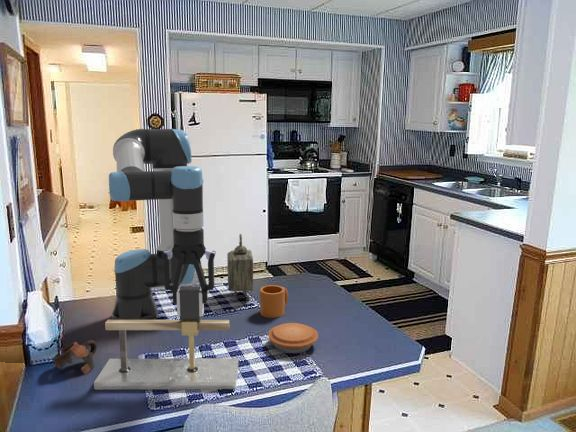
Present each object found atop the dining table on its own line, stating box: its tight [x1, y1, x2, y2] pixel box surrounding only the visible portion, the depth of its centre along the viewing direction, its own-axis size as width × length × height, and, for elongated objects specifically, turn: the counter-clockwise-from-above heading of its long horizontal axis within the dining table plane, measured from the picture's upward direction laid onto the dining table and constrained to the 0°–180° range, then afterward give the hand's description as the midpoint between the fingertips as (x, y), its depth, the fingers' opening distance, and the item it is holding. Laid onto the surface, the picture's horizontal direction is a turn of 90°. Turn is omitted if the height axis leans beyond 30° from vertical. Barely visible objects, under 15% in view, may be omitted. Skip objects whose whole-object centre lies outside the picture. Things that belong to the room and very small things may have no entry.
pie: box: [267, 322, 319, 354], centre depth 144 cm, size 16×16×5 cm
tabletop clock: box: [226, 233, 254, 302], centre depth 180 cm, size 14×9×25 cm, turn 9°
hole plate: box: [93, 357, 240, 391], centre depth 125 cm, size 12×36×2 cm, turn 92°
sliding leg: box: [179, 285, 202, 369], centre depth 123 cm, size 5×5×23 cm
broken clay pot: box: [52, 339, 97, 376], centre depth 129 cm, size 12×10×8 cm
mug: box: [259, 284, 289, 319], centre depth 168 cm, size 9×12×9 cm
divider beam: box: [104, 319, 231, 371], centre depth 123 cm, size 2×32×14 cm, turn 92°
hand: (190, 314), depth 122 cm, fingers closed on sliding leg, 5 cm apart
